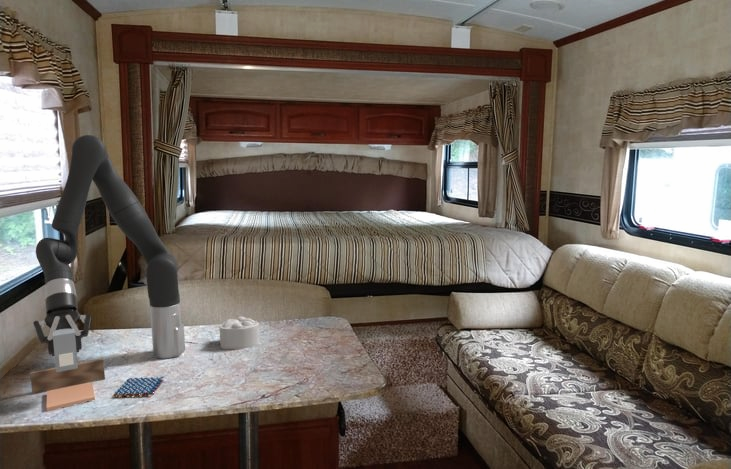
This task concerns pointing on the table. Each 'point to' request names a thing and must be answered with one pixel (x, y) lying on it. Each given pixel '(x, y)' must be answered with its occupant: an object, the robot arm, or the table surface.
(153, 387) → the woven mat
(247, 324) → the lumpy-topped squat cylinder
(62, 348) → the plain grey block
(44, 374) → the walnut screen
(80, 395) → the terracotta tile
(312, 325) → the table surface
